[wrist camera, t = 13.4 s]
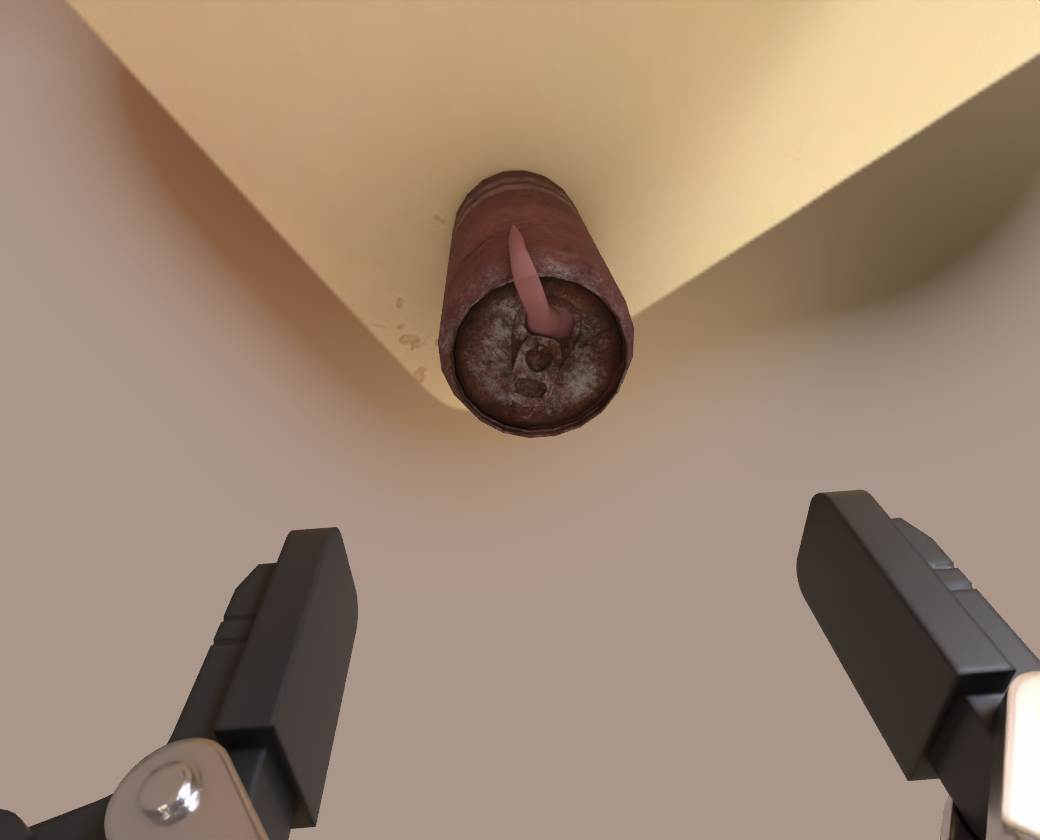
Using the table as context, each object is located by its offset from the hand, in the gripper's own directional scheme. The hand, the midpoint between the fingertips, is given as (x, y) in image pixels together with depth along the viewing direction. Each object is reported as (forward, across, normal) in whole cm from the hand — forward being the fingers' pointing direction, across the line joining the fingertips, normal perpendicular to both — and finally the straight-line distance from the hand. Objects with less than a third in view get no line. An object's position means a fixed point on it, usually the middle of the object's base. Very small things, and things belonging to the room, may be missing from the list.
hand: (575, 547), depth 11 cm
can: (+23, 0, +1) cm, 23 cm away
